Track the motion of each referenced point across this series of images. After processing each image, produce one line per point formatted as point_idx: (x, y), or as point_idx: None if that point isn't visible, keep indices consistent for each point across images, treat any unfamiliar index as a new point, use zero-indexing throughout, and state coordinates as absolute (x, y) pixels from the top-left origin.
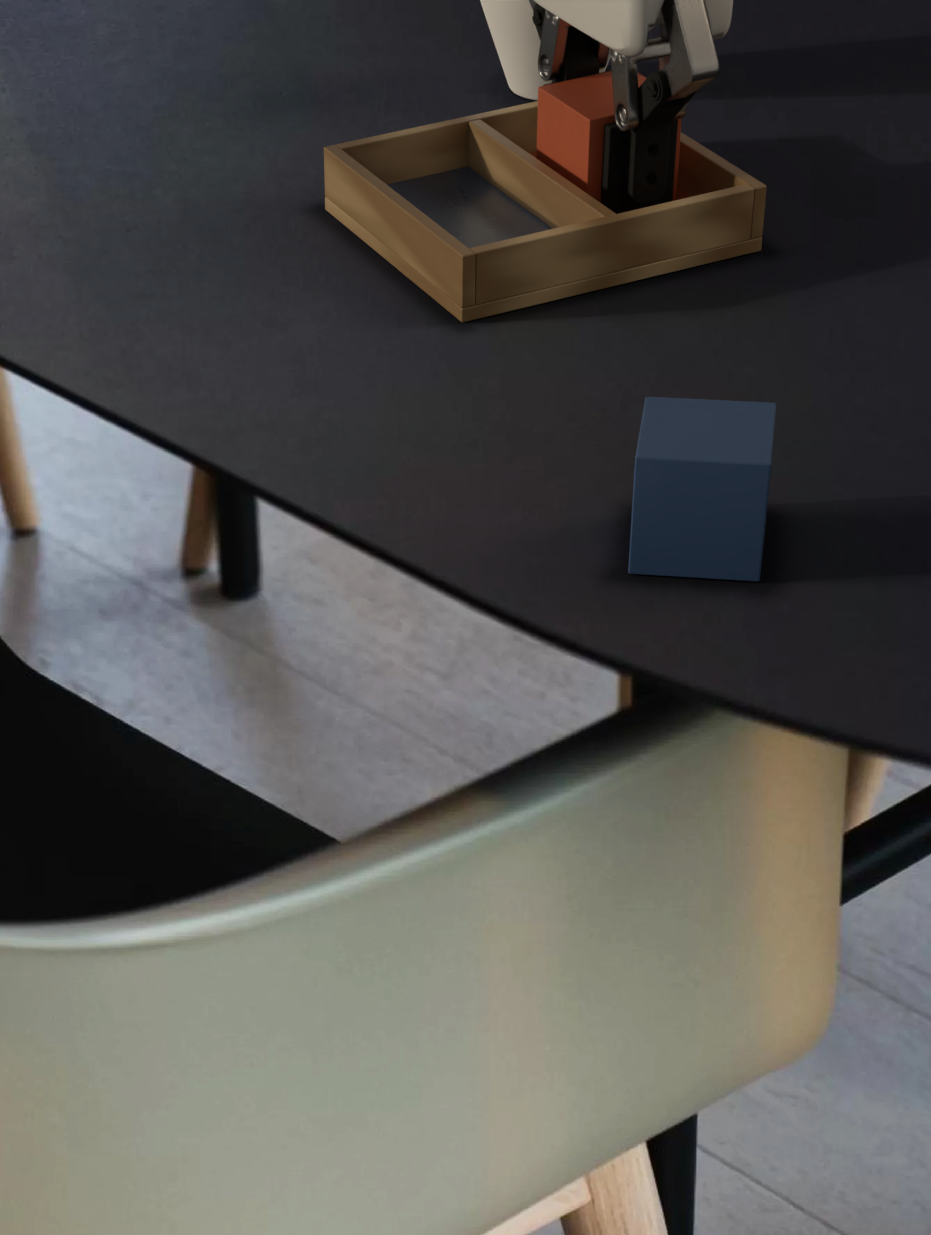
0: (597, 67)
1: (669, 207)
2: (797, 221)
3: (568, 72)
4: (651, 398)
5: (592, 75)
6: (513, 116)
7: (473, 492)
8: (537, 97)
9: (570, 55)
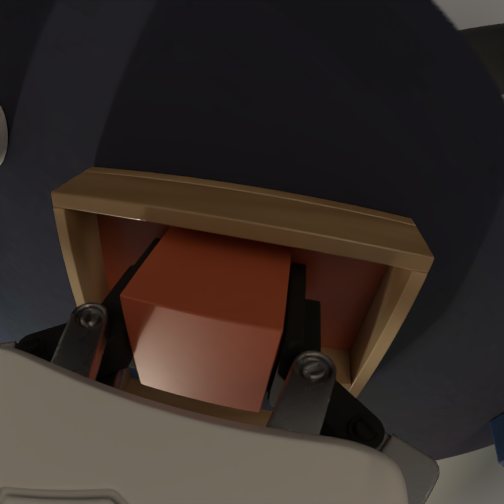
0: (119, 334)
1: (382, 355)
2: (386, 128)
3: (128, 365)
4: (500, 462)
5: (130, 339)
6: (87, 300)
7: (429, 447)
8: (1, 162)
9: (107, 367)
